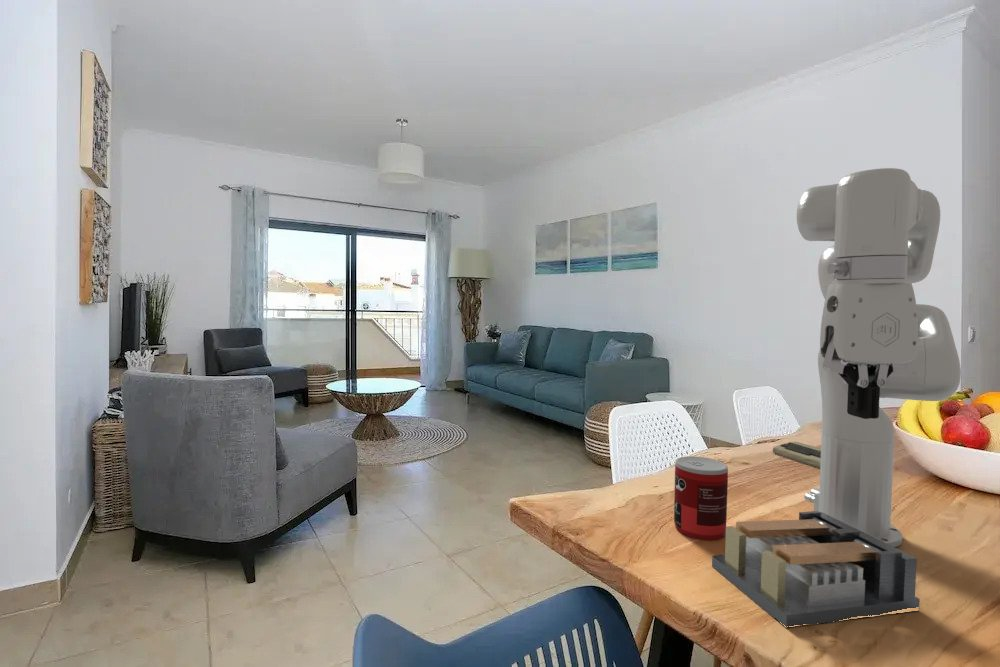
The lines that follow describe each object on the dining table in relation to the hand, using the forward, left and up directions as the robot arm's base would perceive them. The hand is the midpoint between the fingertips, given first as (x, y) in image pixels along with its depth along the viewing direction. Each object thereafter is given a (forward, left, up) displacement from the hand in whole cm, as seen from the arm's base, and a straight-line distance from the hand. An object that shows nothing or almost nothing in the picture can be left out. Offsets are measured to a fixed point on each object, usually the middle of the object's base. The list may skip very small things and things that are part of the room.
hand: (862, 416), depth 66 cm
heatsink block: (0, -7, -22) cm, 23 cm away
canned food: (-18, -11, -22) cm, 31 cm away
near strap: (+3, -7, -16) cm, 18 cm away
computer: (-48, +37, -23) cm, 65 cm away
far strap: (-4, -7, -16) cm, 18 cm away
